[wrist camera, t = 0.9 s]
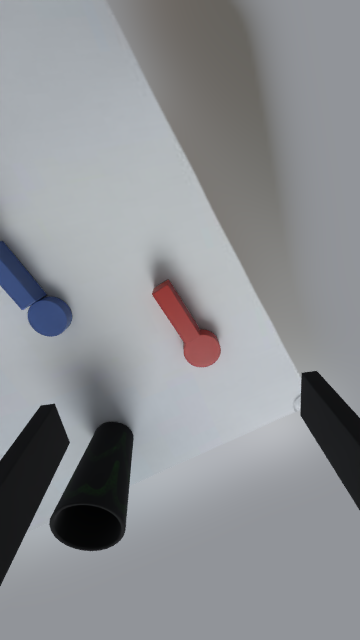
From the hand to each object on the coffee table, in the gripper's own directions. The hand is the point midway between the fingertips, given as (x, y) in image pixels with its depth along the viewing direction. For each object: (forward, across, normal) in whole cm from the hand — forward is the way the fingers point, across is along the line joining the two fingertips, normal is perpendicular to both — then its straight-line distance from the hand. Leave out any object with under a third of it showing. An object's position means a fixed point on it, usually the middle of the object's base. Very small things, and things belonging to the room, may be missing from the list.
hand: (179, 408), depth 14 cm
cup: (+18, -12, -18) cm, 29 cm away
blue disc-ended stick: (+18, -16, +4) cm, 24 cm away
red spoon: (+18, +1, -3) cm, 18 cm away
